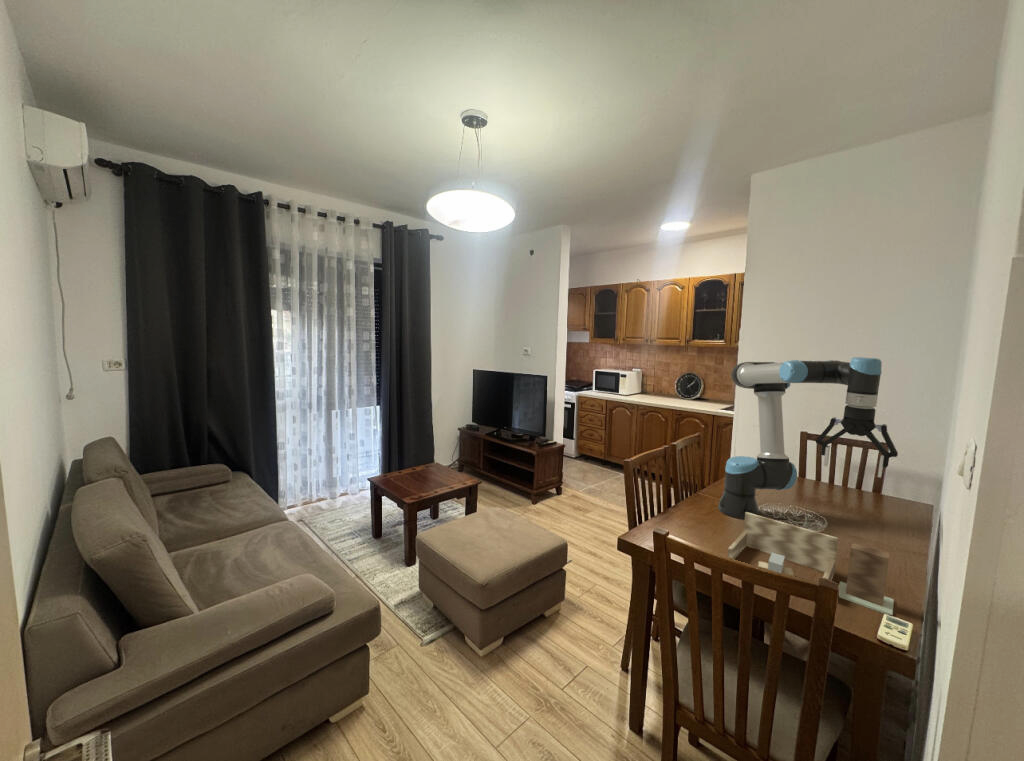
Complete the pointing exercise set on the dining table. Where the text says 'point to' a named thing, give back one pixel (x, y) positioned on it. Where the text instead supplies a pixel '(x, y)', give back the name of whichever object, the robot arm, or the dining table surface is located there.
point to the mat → (886, 607)
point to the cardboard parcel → (867, 574)
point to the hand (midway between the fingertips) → (851, 470)
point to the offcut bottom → (785, 570)
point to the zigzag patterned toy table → (787, 543)
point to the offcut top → (776, 562)
